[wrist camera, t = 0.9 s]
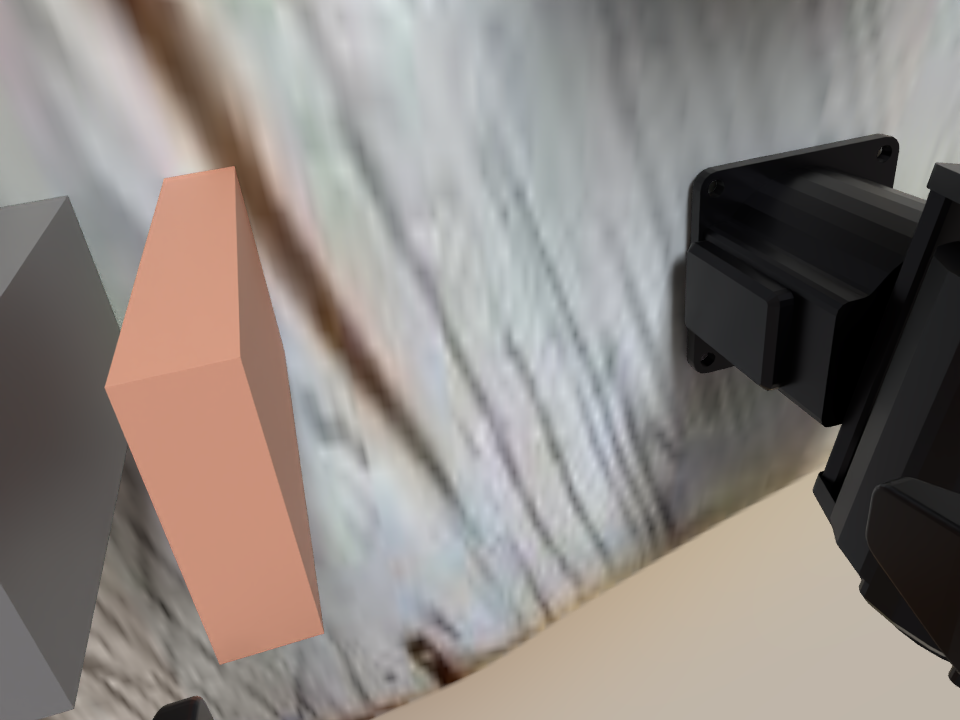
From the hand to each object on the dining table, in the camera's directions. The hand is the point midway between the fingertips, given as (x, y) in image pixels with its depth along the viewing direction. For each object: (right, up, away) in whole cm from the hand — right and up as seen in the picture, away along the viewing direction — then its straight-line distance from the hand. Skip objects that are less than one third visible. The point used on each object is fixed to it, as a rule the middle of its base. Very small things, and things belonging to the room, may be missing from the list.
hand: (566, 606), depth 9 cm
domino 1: (-11, +4, +9) cm, 15 cm away
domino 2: (-7, +5, +10) cm, 14 cm away
